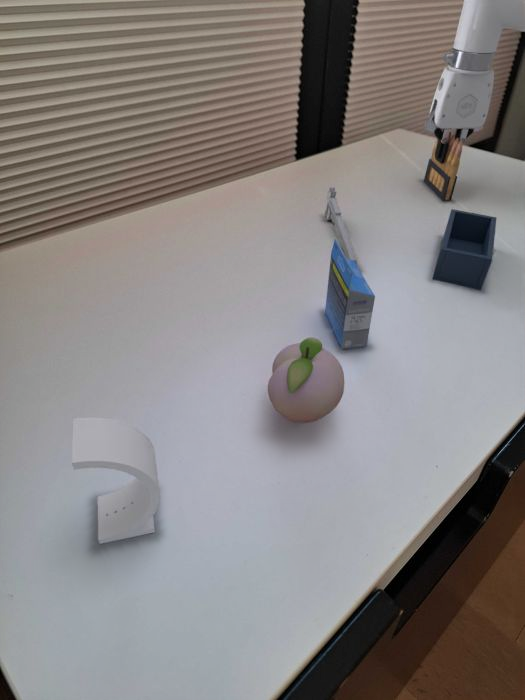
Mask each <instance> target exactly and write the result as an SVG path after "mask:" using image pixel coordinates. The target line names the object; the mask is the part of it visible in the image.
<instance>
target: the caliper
mask: <svg viewBox="0 0 525 700" xmlns="http://www.w3.org/2000/svg"><path fill="white" fill-rule="evenodd" d="M336 196H337V191H336V187H329V190H328V191H327V195H326V199H325V207H324V216H326V221H332V225H335V228H336V232H337V234H338V237H339V240H340V243H341V246H342V250H343V253H344V255H345V257H346V258H347V259H350V260H353V261H355V263H356V265H357V267H358V264H357V257H356V253H355V251H354V248H353V246H352V242H351V240H350V237H349V234H348V231H347V229H346V226H345V222H344V220H343V217H342V211H341V208H340V206H339V202H338V200H337V198H336ZM358 268H359V267H358Z"/></svg>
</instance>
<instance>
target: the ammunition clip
mask: <svg viewBox="0 0 525 700" xmlns="http://www.w3.org/2000/svg"><path fill="white" fill-rule="evenodd" d="M437 143H438V139H437V138H436V140H435V144H434V146H433V149H432V153H431V156H430V158H429V160H428V163H427V166H426V170H425V174H424V178H423V183H424V184H425V185H426V186H427V187H428V188H429V189H430V190H431V191H432V192H433V193H434V194H435V195H436V196H437V197H438V198H439V199H440V200H441V202H451V201H452V199H453V196H454V192H455V188H456V185H457V181H458V176H457V174H458V172H459V167H460V163H461V156H462V153H463V144H464V143H462V140H461V141H460V143H459V139H458V138H456V140H455V135H454V134H452V132H451V131H450V132H449V137H448V141H447V143H448V144H449V147H448V151H447V154H446V158H445V162H444V163H442V164H440V163H439V162H438V161H437V160H436V159H435V151H436V147H437Z"/></svg>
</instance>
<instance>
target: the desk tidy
mask: <svg viewBox="0 0 525 700" xmlns="http://www.w3.org/2000/svg"><path fill="white" fill-rule="evenodd" d="M496 226H497V217H496V216H491V215H487V214H486V215H485V214H481V213H476V212H475V213H474V212H470V211H464V210H460V209H459V210H458V209H454V208H451V210H450V213H449V216H448V219H447V223H446V227H445V229H444V233H443V237H442V240H441V244H440V248H439V251H438V256H437V260H436V262H435V267H434V271H433V274H432V279H431V280H432V281H438V282H442V283H447V284H452V285H455V286H459V287H464V288H469V289H473V290H478V291H482V288H483V286H484V283H485V281H486V278H487V275H488V272H489V270H490V267H491V264H492V261H493V255H494V247H495V237H496V228H497V227H496Z"/></svg>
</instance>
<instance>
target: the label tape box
mask: <svg viewBox="0 0 525 700" xmlns="http://www.w3.org/2000/svg"><path fill="white" fill-rule="evenodd" d="M330 251H331V252H330V262H329V269H328V270H329V271H328V279H327V290H326V299H325V306H324V307H325V309H324V313H325V314H326V317H327V319H328V322H329V324H330V326H331V328H332V331H333V333H334V335H335V338H336V340H337V342H338V345H339V346H340V349H341V350H345V349H356V348H363V347H367V346H368V341H369V334H370V328H371V322H372V317H373V311H374V305H375V299H376V295H375V294H374V292H373V290H372V288H371V287H370V285H369V284H368V282H367V280H366V278H365V277H364V276H363V273H362V272H361V270H360V268H359V267H357V266H358V264H357V265H356V263H357V262H356V263H355V261H353V260H350V259H347V258H346V255H345V252H344V250H343V248H342V247H341V245H340V244H339V241H338V238H337V236H335V237H334V241H333V245H332V248H331V250H330Z"/></svg>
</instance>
